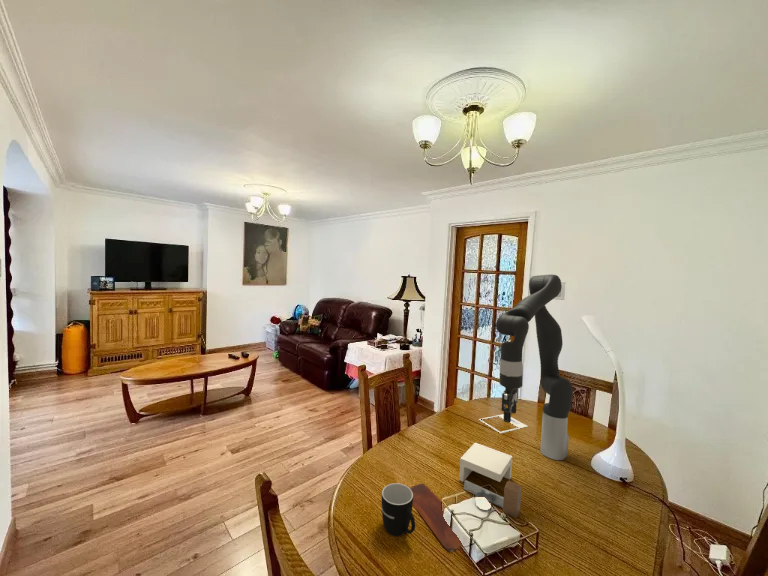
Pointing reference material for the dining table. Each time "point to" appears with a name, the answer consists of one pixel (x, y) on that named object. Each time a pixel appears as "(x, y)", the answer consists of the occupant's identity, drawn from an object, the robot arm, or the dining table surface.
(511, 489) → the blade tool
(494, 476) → the plinth shelf
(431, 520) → the wooden tablet
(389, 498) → the mug
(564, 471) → the dining table surface
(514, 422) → the photo frame
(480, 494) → the token
